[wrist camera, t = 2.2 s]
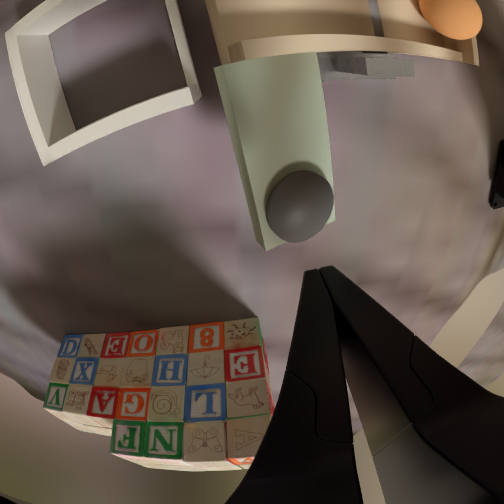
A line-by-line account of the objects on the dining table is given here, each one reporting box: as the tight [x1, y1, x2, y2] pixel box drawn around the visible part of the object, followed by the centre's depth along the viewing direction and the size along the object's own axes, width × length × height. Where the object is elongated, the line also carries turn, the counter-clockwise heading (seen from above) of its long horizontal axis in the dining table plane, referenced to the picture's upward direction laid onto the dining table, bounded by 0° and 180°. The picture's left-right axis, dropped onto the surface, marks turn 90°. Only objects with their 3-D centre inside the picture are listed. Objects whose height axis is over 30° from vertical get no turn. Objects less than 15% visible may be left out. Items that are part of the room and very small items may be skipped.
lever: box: [205, 0, 479, 251], centre depth 9 cm, size 14×14×3 cm
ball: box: [419, 0, 482, 40], centre depth 6 cm, size 4×4×4 cm
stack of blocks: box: [43, 317, 275, 471], centre depth 21 cm, size 21×6×12 cm, turn 99°
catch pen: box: [5, 0, 202, 166], centre depth 9 cm, size 9×9×3 cm
